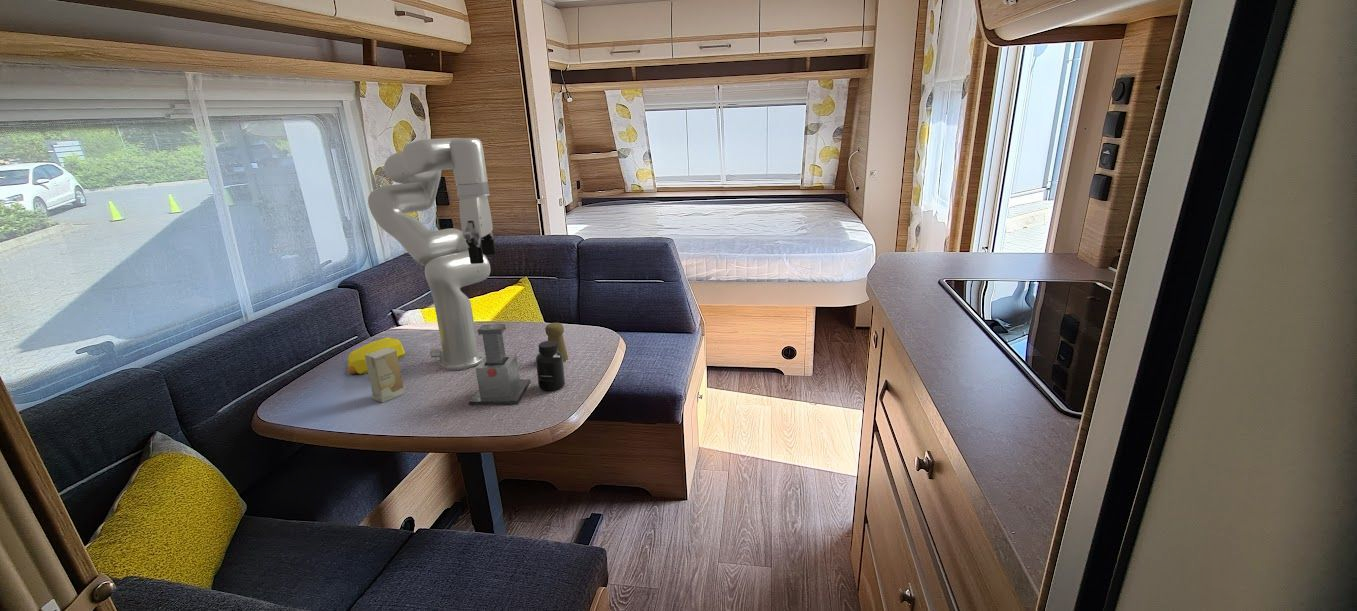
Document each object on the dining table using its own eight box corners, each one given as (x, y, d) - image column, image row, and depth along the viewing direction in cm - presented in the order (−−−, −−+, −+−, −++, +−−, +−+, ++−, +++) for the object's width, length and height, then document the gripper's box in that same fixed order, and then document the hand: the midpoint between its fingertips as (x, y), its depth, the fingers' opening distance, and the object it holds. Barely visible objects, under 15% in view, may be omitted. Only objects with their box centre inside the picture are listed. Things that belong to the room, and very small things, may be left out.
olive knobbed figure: (563, 364, 162) (559, 328, 159) (543, 363, 163) (539, 327, 160) (571, 355, 168) (567, 320, 164) (552, 354, 169) (548, 320, 166)
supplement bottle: (542, 394, 145) (537, 351, 141) (536, 384, 150) (530, 342, 147) (569, 388, 148) (564, 345, 144) (561, 378, 153) (556, 337, 150)
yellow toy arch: (341, 375, 161) (359, 379, 158) (335, 353, 159) (354, 357, 156) (395, 351, 176) (413, 355, 173) (391, 331, 174) (408, 334, 171)
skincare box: (382, 403, 143) (372, 358, 139) (372, 399, 145) (362, 355, 141) (406, 393, 148) (397, 349, 144) (396, 389, 150) (387, 346, 147)
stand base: (469, 405, 140) (463, 372, 138) (485, 383, 152) (481, 352, 149) (517, 404, 140) (513, 370, 137) (530, 382, 152) (526, 351, 149)
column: (487, 391, 144) (477, 330, 139) (491, 385, 147) (482, 324, 142) (509, 391, 144) (500, 329, 138) (513, 384, 147) (505, 324, 142)
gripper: (469, 187, 148) (479, 252, 153) (444, 195, 131) (456, 267, 137) (498, 186, 148) (507, 250, 153) (476, 194, 131) (487, 266, 137)
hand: (483, 258), depth 145 cm, fingers open, 9 cm apart
